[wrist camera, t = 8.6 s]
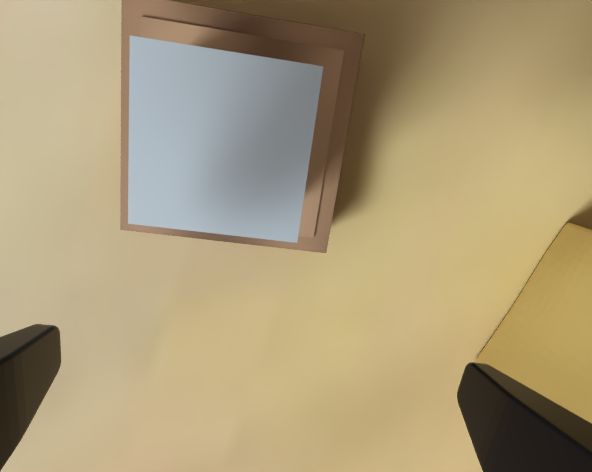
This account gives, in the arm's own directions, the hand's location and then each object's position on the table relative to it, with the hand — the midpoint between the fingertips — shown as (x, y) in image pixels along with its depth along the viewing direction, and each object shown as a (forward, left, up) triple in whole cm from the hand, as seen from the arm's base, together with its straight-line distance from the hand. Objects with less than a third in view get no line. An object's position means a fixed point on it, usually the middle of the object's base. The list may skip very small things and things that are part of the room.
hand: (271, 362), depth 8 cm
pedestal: (+2, -4, -12) cm, 13 cm away
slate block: (+2, -4, -9) cm, 10 cm away
